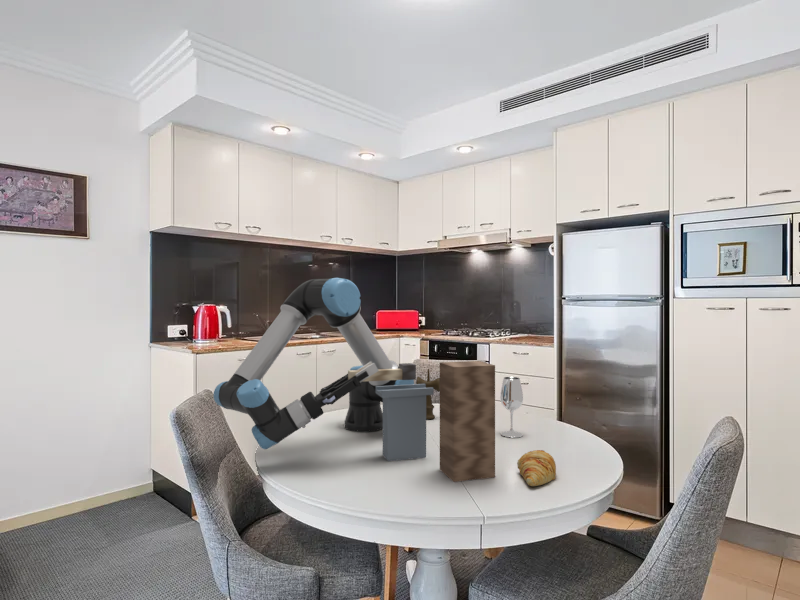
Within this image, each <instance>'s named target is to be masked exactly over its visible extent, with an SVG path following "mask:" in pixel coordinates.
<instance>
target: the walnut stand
mask: <svg viewBox="0 0 800 600" xmlns="http://www.w3.org/2000/svg"><path fill="white" fill-rule="evenodd" d="M439 378H440V392H439V470H440V471H441V472H442V473H443V474H444V475H445V476H447V478H449V479H450V480H451V482H454V483H458V482H465V481H474V480H484V479H491V478H495V477H496V365H495V364H492V363H489V362H488V363H487V362H485V361H479V360H469V361H468V360H467V361H443V362H442V361H441V362H439Z"/></svg>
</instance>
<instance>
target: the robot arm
mask: <svg viewBox="0 0 800 600" xmlns="http://www.w3.org/2000/svg"><path fill="white" fill-rule="evenodd" d="M360 297H362V296H361V293H360V290H359V288H358V286H357V285H356V284H355V283H354V282H353V281H352V280H350V279H347V278H341V277H333V278H313V279H312V278H311V279H309V280H306V281H304V282H302V283H301V284H300V285H299V286H298V287H296V288H295V289H294V290H293V291H292V292H291V293H290V294H289V295H288V297H287V298H286V299H285V300H284V302H283V303H282V304H281V305H280V309H279V310H280V312H279V314H278V315H277V316H276V317H275V319H274V320H273V322H272V323H271V324H270V326H269V327H268V328H267V329H266V331H265V332H264V334H263V335H262V336H261V337H260V339H259V340H258V341H257V343H256V344H255V345H254V347H253V348H252V349H251V351H250V352H249V353H248V355H247V356H246V358H245V359H244V360H243V361H242V363H241V364H240V365H239V366H238V368H237V369H236V371H234V373H233V375H231V377H230V378H229V380H226V381H222V382H220V383H219V384H218V385H216V386H215V388H214V390H213V400H214V402H215V403H216V405H217V406H219V407H222V408H223V409H225V410H226V409H227V410H231V411H235V412H237V413H241V414H247V415H248V416H249V417H250V418H251V420H252V421H253V423H254V426H252V427H251V433H252V436H253V437H254V439H255V440H256V443H257V445H258V446H259V447H260V448H261V449H263V450H268V449H270V448H271V447H273V446H275V445H278V444H280V442H281V441H283V440H285V439H286V438H287V437H289V436H291V435H292V434H293V433H295V432H296V431H298V430H300V429H301V428H303V429H304V428H306V425H308V424H309V423H311V422H312V420H316V419H317V418H319V417H321V416H322V415H324V410H323V407H324V406H329V405H334V404H335V403H336V402H337V401H338V400H340V399H341V398H342V397H344V396H346V395H347V394H349V395H348V397H349V398H348V399H349V401H348V410H347V412H346V415H345V419H344V428H345V429H346V430H348V431H352V432H357V433H359V432H365V433H367V432H368V433H369V432H376V431H380V430H383V408H382V406H381V403H383V398H382V397H380V396H379V395H378V394H376V386H391V385H410V384H415V380H386V381H364V380H365V379H367V378H368V377H370V376H371V375H373V374H375V373H376V372H378V371H379V370H378V369H399V364H398V363H397V362H396V361H394V360H390V358H389V357H388V356H387V354H386V352H385V351H384V349H383V348H382V346H381V345H380V343H379V341H378V340H377V338H376V337H375V335H374V334H373V332H372V331H371V328H369V326H368V324H367V323H366V321H365V320H364V318H363V316H362V314H361V313H360V312H361V307H362V306H361V301H362V300H361V299H360ZM314 316H322V317H323V318H324V319H325V321H326V322H327V324H328V325H329V326H330V327H331V328H334V329H335V328H337V330H338V331H339V332H340V334H341V335H342V337H343V339H344V340H345V341H346V343H347V344H348V346H349V347H350V348H351V349H350V350H352V353H354V354H355V356H356V357H357V359H358V360H359V361H360V362H359V363H361V364H362V365H356V366H352V367H350V369H349V370H361V371H360V372H358V373H357V374H355V375H356V376H353V377H352V378H350V379H349V380H348V373H346V374H345V375H343V376H342V377H340V378H339V379H336V380H335V381H333V382H331V383H330V384H328V385H326V386H324V387H322V388H321V389H320V391H319V393H318V394H316V395H314V393H313V392H312V391H308V392H307V393H305V394H303V395H302V396H300V399H295V400H294V401H292V402H291V403H288V404H287V405H285V406H284V407H282V408H281V409H280V408H279V405H277V403H276V401H275V400H274V398H273V397H272V395H271V393H270V392H269V389H268V388H267V386H266V385H265V384H264V382H263V381H262V379H263V378H264V377H265V375H266V374H267V372H268V371H269V369H270V368H271V367H272V366H273V364H274V363H275V361H276V360H277V358H278V357H279V356H280V354H281V353H282V351H283V350H284V349H285V348H286V346H287V344H288V343H289V342H290V340H291V339H292V338H293V336H294V335H295V334H296V332H297V331H298V329H299V327H301V326H304V325H306V324H307V322H308V321H309V320H310V319H311V318H312V317H314ZM362 381H364V382H362Z"/></svg>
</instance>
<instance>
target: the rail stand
mask: <svg viewBox="0 0 800 600" xmlns="http://www.w3.org/2000/svg"><path fill="white" fill-rule="evenodd" d="M434 391H435V390H434V388H426V384H416V383H414V384H410V385H391V386H376V394H378V395H379V396H380V397H382V398H383V402H382V413H383V429H382V456H383V457H384V458H385V460H387V462H392V461H404V460H413V459H425V458H427V419H426V395H431V396H433V395H435V394H434V393H435V392H434Z"/></svg>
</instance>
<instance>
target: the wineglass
mask: <svg viewBox="0 0 800 600" xmlns="http://www.w3.org/2000/svg"><path fill="white" fill-rule="evenodd" d="M521 382H522V381H521V378H519V377H517V376H505V377H503V379H502V383H501V384H502V385H501V389H500V403H501V405H502V406H503V408H504V409H506V410H508V411H509V413H510V414H509V415H510V429H509V430H508V431H507V430H506V431H502V432H500V435H501V436H502V437H504V436H505V438H509V437H510V438H512V439H516V438H521V437H523V433H522V432H519V431H515V430H514V427H513V425H514V423H513V422H514V421H513V420H514V412H515V411H517V410H518V409H520V408H521V406H522V404H523V402H524V393H523V389H522V383H521Z"/></svg>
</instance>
